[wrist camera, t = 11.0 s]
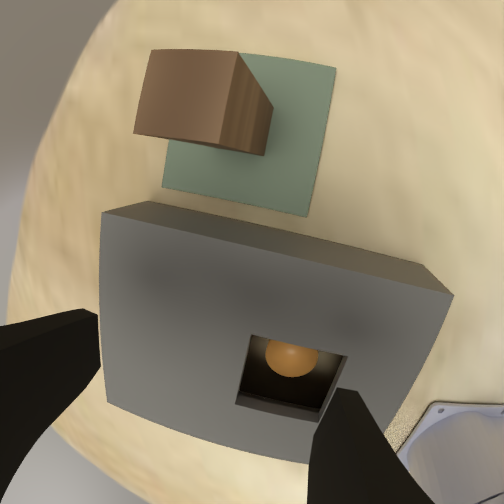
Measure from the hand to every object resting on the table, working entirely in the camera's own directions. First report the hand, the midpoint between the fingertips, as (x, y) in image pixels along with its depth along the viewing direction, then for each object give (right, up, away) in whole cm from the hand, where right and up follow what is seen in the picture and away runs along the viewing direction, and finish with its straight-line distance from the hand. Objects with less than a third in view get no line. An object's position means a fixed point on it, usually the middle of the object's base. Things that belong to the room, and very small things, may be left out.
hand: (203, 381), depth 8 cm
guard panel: (+2, -1, +10) cm, 10 cm away
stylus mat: (+1, +10, +7) cm, 13 cm away
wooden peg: (+1, +10, +7) cm, 12 cm away
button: (+4, -1, +9) cm, 10 cm away
